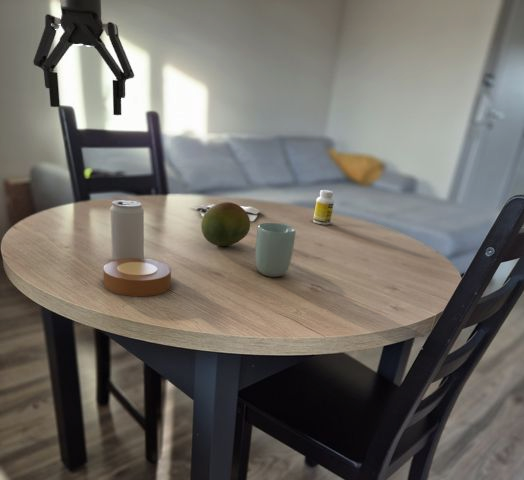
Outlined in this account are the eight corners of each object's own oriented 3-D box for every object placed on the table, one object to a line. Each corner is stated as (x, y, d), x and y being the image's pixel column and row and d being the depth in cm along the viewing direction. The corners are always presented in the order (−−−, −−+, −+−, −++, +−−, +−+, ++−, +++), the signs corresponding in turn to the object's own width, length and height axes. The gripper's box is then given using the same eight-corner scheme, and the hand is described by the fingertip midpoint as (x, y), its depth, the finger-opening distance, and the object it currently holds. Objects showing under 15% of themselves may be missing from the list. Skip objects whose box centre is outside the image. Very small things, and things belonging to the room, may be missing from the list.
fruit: (249, 241, 124) (253, 201, 119) (245, 255, 113) (249, 212, 108) (205, 235, 124) (207, 196, 120) (196, 249, 113) (198, 205, 108)
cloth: (266, 212, 157) (267, 205, 156) (246, 225, 138) (247, 217, 137) (208, 202, 161) (209, 195, 160) (181, 214, 142) (181, 205, 141)
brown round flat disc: (93, 291, 85) (92, 274, 83) (117, 269, 95) (117, 254, 94) (160, 300, 84) (160, 283, 83) (177, 277, 95) (177, 262, 93)
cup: (295, 279, 102) (302, 232, 97) (261, 280, 99) (266, 232, 94) (280, 267, 108) (285, 222, 103) (247, 268, 105) (252, 222, 100)
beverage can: (108, 257, 101) (106, 198, 96) (138, 255, 104) (138, 198, 99) (116, 266, 97) (114, 206, 91) (147, 264, 100) (147, 206, 94)
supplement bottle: (327, 226, 149) (332, 193, 145) (310, 222, 151) (315, 190, 146) (332, 223, 154) (337, 191, 149) (316, 219, 155) (321, 188, 151)
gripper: (149, 0, 96) (148, 117, 106) (27, -15, 97) (38, 103, 106) (137, -7, 89) (138, 118, 99) (6, -24, 90) (20, 103, 100)
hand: (86, 111), depth 103 cm, fingers open, 13 cm apart
